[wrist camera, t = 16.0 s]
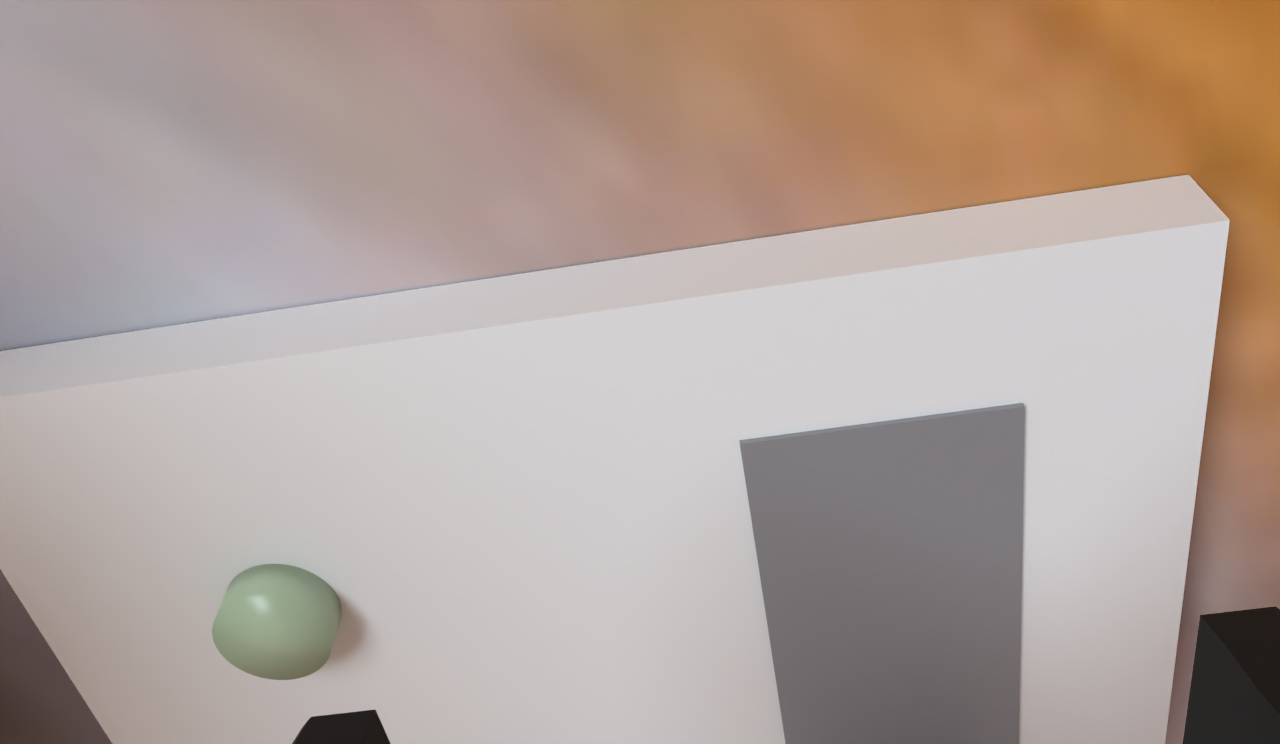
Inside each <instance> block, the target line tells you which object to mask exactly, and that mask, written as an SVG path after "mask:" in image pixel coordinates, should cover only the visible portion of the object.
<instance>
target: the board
mask: <svg viewBox="0 0 1280 744" xmlns="http://www.w3.org/2000/svg"><path fill="white" fill-rule="evenodd" d="M1229 223H1230V220H1229V219H1228V218H1227V216H1226V215H1225V214H1224V213H1223V212H1222V211H1221V210H1220V209H1219V208H1218V207H1217V205H1216V204H1215V203H1214V202H1213V201H1212V200H1211V199H1210V198H1209V197H1208V196H1207V194H1206V193H1205V192H1204V191H1203V190H1202V189H1201V188H1200V187H1199V186H1198V185H1197V183H1196V182H1195V181H1194V180H1193V179H1192V178H1191V177H1190V176H1189V175H1183V176H1176V177H1169V178H1163V179H1156V180H1149V181H1142V182H1136V183H1129V184H1122V185H1115V186H1109V187H1102V188H1095V189H1089V190H1082V191H1075V192H1068V193H1062V194H1055V195H1048V196H1041V197H1035V198H1028V199H1021V200H1014V201H1008V202H1001V203H994V204H987V205H981V206H974V207H967V208H961V209H954V210H947V211H940V212H934V213H927V214H920V215H913V216H907V217H900V218H893V219H886V220H880V221H873V222H866V223H860V224H853V225H846V226H839V227H833V228H826V229H819V230H812V231H806V232H799V233H792V234H785V235H779V236H772V237H765V238H759V239H752V240H745V241H738V242H732V243H725V244H718V245H711V246H705V247H698V248H691V249H684V250H678V251H671V252H664V253H657V254H651V255H644V256H637V257H631V258H624V259H617V260H610V261H604V262H597V263H590V264H583V265H577V266H570V267H563V268H556V269H550V270H543V271H536V272H530V273H523V274H516V275H509V276H503V277H496V278H489V279H482V280H476V281H469V282H462V283H455V284H449V285H442V286H435V287H429V288H422V289H415V290H408V291H402V292H395V293H388V294H381V295H375V296H368V297H361V298H354V299H348V300H341V301H334V302H327V303H321V304H314V305H307V306H301V307H294V308H287V309H280V310H274V311H267V312H260V313H253V314H247V315H240V316H233V317H226V318H220V319H213V320H206V321H200V322H193V323H186V324H179V325H173V326H166V327H159V328H152V329H146V330H139V331H132V332H125V333H119V334H112V335H105V336H99V337H92V338H85V339H78V340H72V341H65V342H58V343H51V344H45V345H38V346H31V347H24V348H18V349H11V350H4V351H0V570H1V571H2V573H3V575H4V576H5V578H6V579H7V581H8V582H9V584H10V585H11V587H12V589H13V590H14V592H15V593H16V595H17V596H18V598H19V599H20V601H21V603H22V604H23V606H24V607H25V609H26V610H27V612H28V613H29V615H30V617H31V618H32V620H33V621H34V623H35V624H36V626H37V627H38V629H39V630H40V632H41V634H42V635H43V637H44V638H45V640H46V641H47V643H48V644H49V646H50V648H51V649H52V651H53V652H54V654H55V655H56V657H57V658H58V660H59V662H60V663H61V665H62V666H63V668H64V669H65V671H66V672H67V674H68V676H69V677H70V679H71V680H72V682H73V683H74V685H75V686H76V688H77V690H78V691H79V693H80V694H81V696H82V697H83V699H84V700H85V702H86V704H87V705H88V707H89V708H90V710H91V711H92V713H93V714H94V716H95V718H96V719H97V721H98V722H99V724H100V725H101V727H102V728H103V730H104V732H105V733H106V735H107V736H108V738H109V739H110V741H111V742H112V744H292V743H293V741H294V740H295V738H296V737H297V735H298V733H299V732H300V730H301V729H302V727H303V726H304V725H305V723H306V722H307V721H308V720H309V719H310V717H314V716H322V715H331V714H340V713H349V712H357V711H366V710H376V712H377V714H378V716H379V719H380V721H381V723H382V725H383V728H384V730H385V732H386V735H387V737H388V739H389V741H390V744H1165V740H1166V732H1167V724H1168V716H1169V708H1170V700H1171V692H1172V684H1173V676H1174V668H1175V660H1176V651H1177V643H1178V635H1179V627H1180V619H1181V611H1182V603H1183V595H1184V587H1185V579H1186V571H1187V562H1188V554H1189V546H1190V538H1191V530H1192V522H1193V514H1194V506H1195V498H1196V490H1197V482H1198V473H1199V465H1200V457H1201V449H1202V441H1203V433H1204V425H1205V417H1206V409H1207V401H1208V393H1209V384H1210V376H1211V368H1212V360H1213V352H1214V344H1215V336H1216V328H1217V320H1218V312H1219V304H1220V295H1221V287H1222V279H1223V271H1224V263H1225V255H1226V247H1227V239H1228V231H1229Z"/></svg>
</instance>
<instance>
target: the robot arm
mask: <svg viewBox="0 0 1280 744" xmlns="http://www.w3.org/2000/svg"><path fill="white" fill-rule="evenodd" d="M292 744H390V741H389V739H388V737H387V735H386V732H385V730H384V728H383V725H382V723H381V721H380V719H379V716H378V714H377V712H376V710H366V711H357V712H349V713H340V714H331V715H322V716H314V717H310V719H309V720H308V721H307V722H306V723H305V725H304V726H303V727H302V729H301V730H300V732H299V733H298V735H297V737H296V738H295V740H294V741H293V743H292ZM1183 744H1280V610H1279V609H1278V608H1277V607H1268V608H1260V609H1251V610H1242V611H1233V612H1225V613H1216V614H1207V615H1200V622H1199V630H1198V637H1197V644H1196V652H1195V659H1194V666H1193V674H1192V681H1191V688H1190V696H1189V703H1188V710H1187V717H1186V725H1185V732H1184V739H1183Z"/></svg>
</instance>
